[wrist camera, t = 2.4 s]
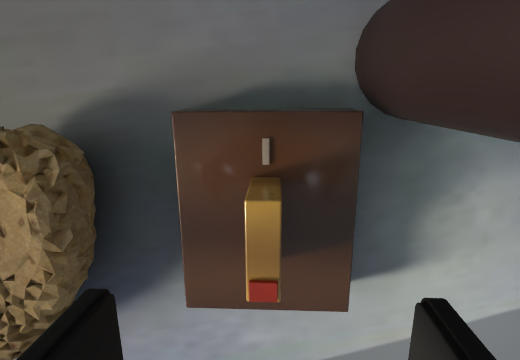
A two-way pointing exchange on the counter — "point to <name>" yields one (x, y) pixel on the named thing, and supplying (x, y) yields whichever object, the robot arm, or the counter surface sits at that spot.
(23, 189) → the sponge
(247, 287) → the thumbturn
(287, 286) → the lock plate
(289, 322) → the counter surface
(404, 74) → the bottle
